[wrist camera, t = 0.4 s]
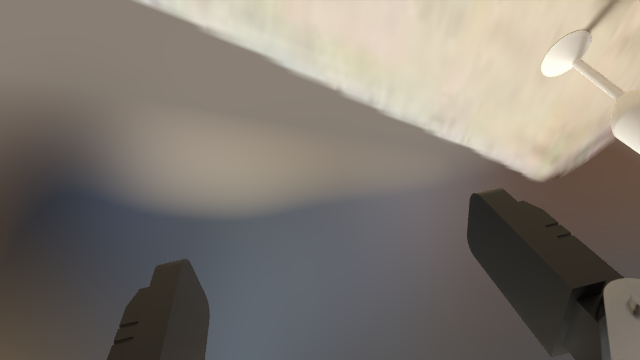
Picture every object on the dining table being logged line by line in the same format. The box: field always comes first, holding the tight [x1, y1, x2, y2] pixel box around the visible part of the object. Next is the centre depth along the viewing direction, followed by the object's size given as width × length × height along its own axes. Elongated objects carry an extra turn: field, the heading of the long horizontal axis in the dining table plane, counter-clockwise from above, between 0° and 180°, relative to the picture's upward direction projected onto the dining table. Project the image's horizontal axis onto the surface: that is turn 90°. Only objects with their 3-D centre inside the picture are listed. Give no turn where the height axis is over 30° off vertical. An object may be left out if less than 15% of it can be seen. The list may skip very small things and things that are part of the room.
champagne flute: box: [541, 30, 640, 154], centre depth 41 cm, size 7×7×24 cm
